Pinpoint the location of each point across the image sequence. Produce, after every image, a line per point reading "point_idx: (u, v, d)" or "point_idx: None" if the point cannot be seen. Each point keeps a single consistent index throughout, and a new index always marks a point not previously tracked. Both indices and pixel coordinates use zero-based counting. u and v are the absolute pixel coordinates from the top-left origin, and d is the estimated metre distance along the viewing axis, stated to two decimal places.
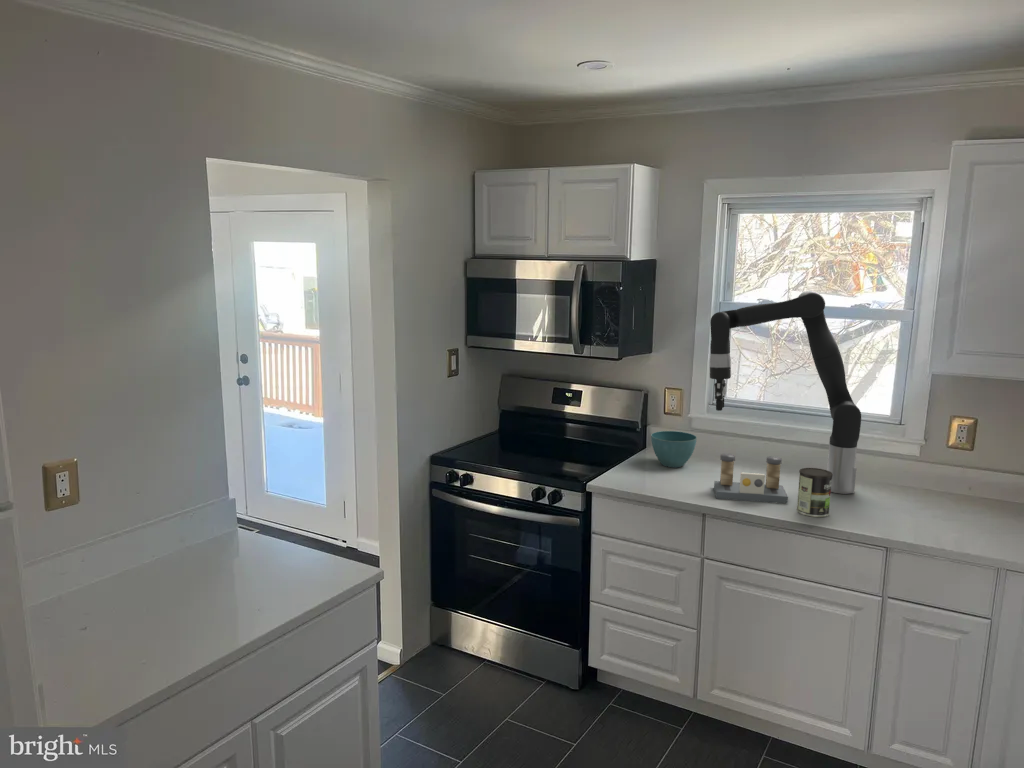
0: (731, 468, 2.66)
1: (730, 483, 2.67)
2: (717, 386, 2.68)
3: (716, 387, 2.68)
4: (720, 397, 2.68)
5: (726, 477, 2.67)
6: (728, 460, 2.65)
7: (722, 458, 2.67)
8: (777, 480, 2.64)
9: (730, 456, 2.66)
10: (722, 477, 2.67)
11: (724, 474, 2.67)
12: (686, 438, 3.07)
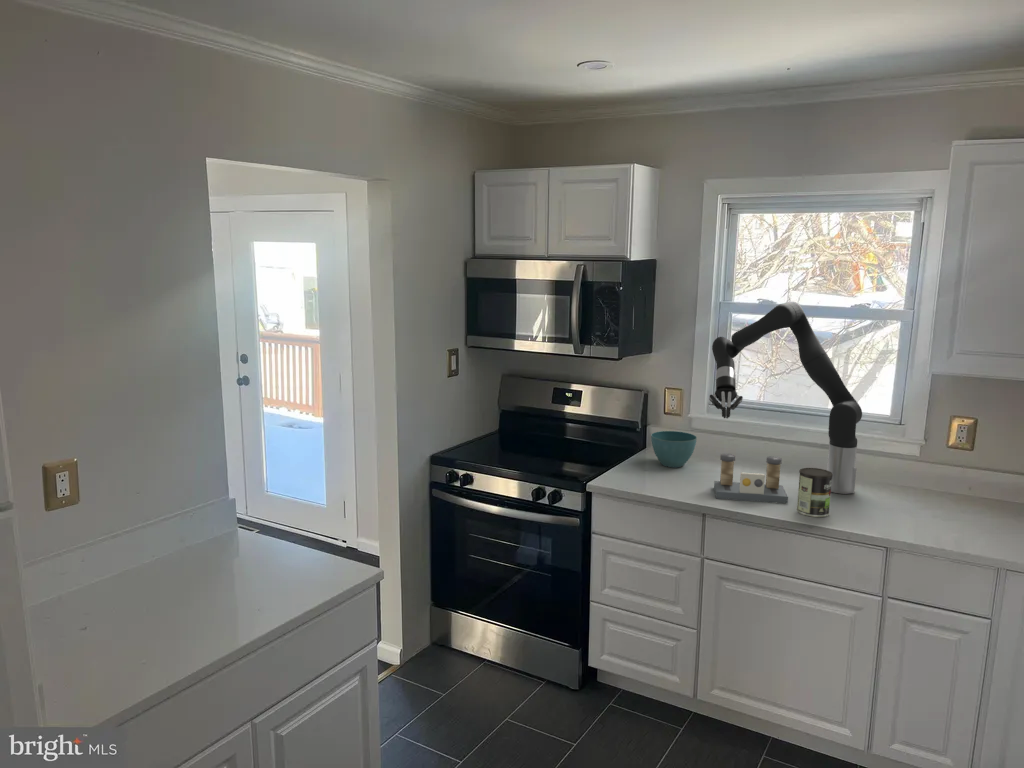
0: (731, 468, 2.66)
1: (730, 483, 2.67)
2: (710, 400, 2.88)
3: (711, 401, 2.88)
4: (717, 404, 2.85)
5: (726, 477, 2.67)
6: (728, 460, 2.65)
7: (722, 458, 2.67)
8: (777, 480, 2.64)
9: (730, 456, 2.66)
10: (722, 477, 2.67)
11: (724, 474, 2.67)
12: (686, 438, 3.07)
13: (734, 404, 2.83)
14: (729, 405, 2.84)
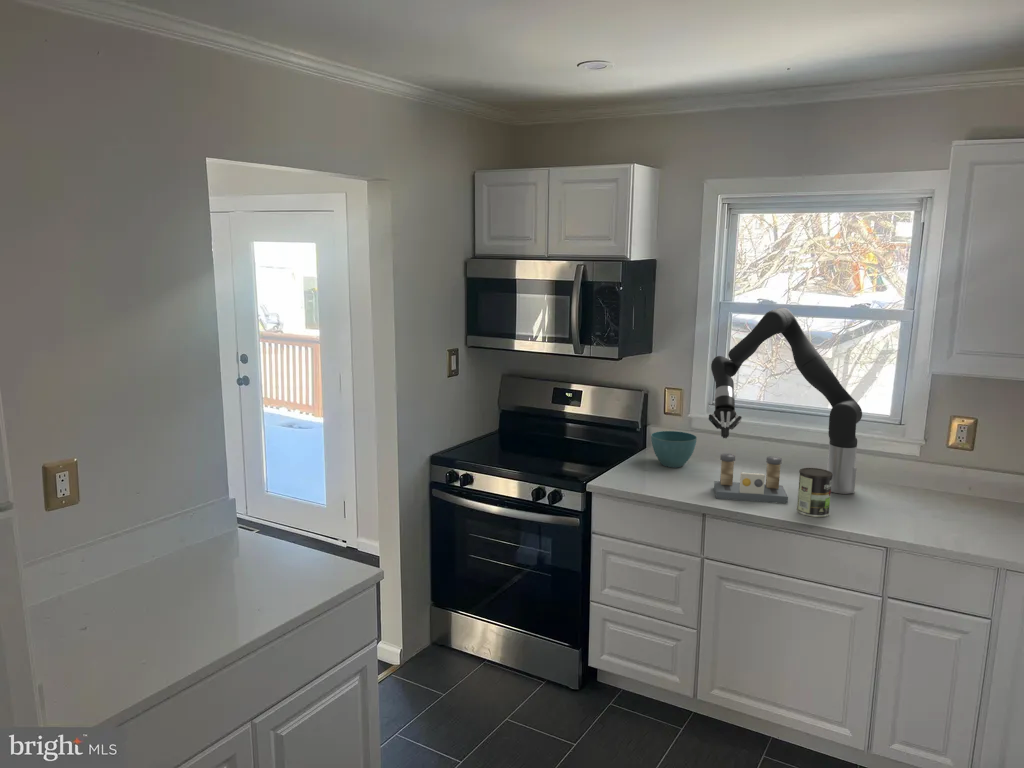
0: (731, 468, 2.66)
1: (730, 483, 2.67)
2: (710, 419, 2.88)
3: (710, 420, 2.89)
4: (716, 424, 2.86)
5: (726, 477, 2.67)
6: (728, 460, 2.65)
7: (722, 458, 2.67)
8: (777, 480, 2.64)
9: (730, 456, 2.66)
10: (722, 477, 2.67)
11: (724, 474, 2.67)
12: (686, 438, 3.07)
13: (733, 424, 2.84)
14: (728, 425, 2.84)
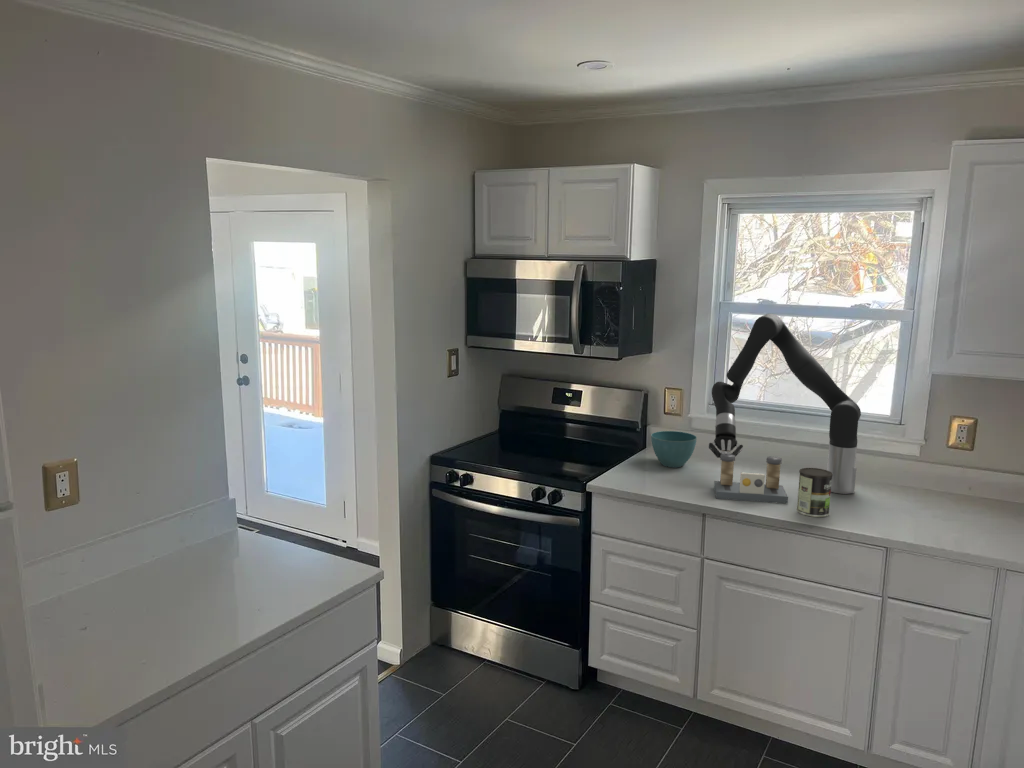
0: (731, 468, 2.66)
1: (730, 483, 2.67)
2: (710, 448, 2.79)
3: (710, 449, 2.79)
4: None
5: (726, 477, 2.67)
6: (728, 460, 2.65)
7: (722, 458, 2.67)
8: (777, 480, 2.64)
9: (730, 456, 2.66)
10: (722, 477, 2.67)
11: (724, 474, 2.67)
12: (686, 438, 3.07)
13: (734, 453, 2.75)
14: None
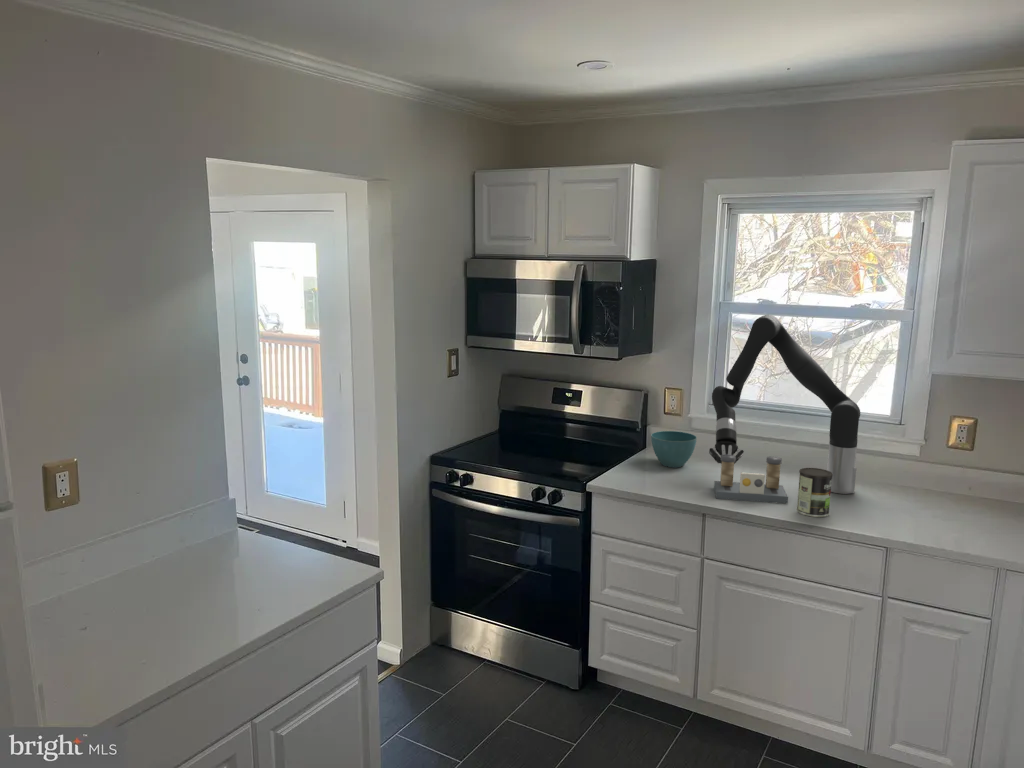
0: (731, 469, 2.65)
1: (730, 484, 2.66)
2: (710, 453, 2.76)
3: (711, 454, 2.76)
4: None
5: (726, 478, 2.66)
6: (728, 461, 2.64)
7: (722, 459, 2.66)
8: (777, 480, 2.64)
9: (731, 457, 2.65)
10: (722, 478, 2.67)
11: (724, 475, 2.66)
12: (686, 438, 3.07)
13: None
14: None
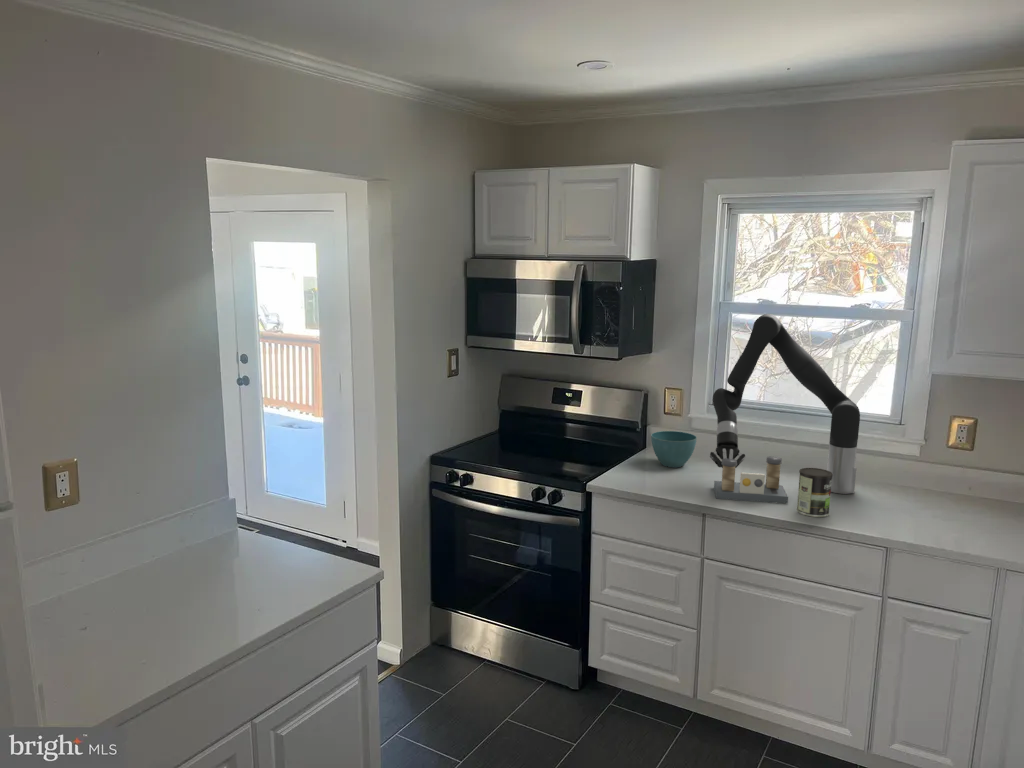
0: (733, 473, 2.60)
1: (732, 489, 2.61)
2: (711, 457, 2.71)
3: (712, 458, 2.71)
4: None
5: (728, 483, 2.61)
6: (729, 465, 2.59)
7: (723, 463, 2.60)
8: (777, 480, 2.64)
9: (732, 461, 2.59)
10: (723, 482, 2.61)
11: (725, 479, 2.61)
12: (686, 438, 3.07)
13: None
14: None
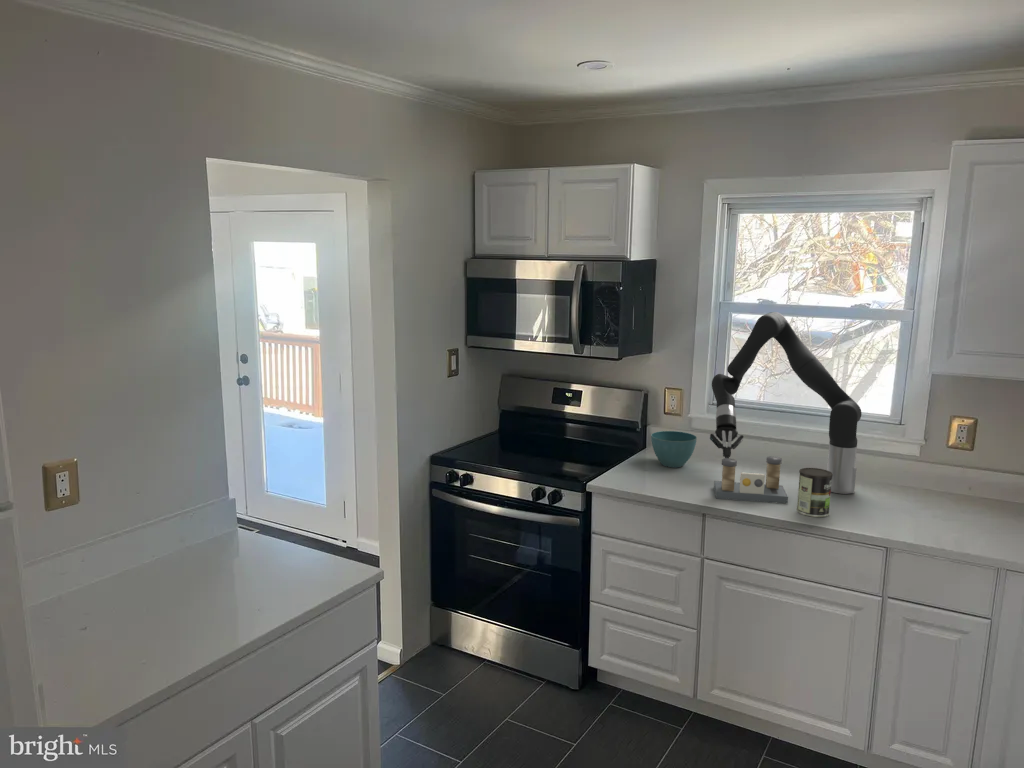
0: (733, 473, 2.60)
1: (732, 489, 2.61)
2: (711, 439, 2.84)
3: (711, 440, 2.84)
4: (718, 444, 2.81)
5: (728, 483, 2.61)
6: (729, 465, 2.59)
7: (723, 463, 2.60)
8: (777, 480, 2.64)
9: (732, 461, 2.59)
10: (723, 482, 2.61)
11: (725, 479, 2.61)
12: (686, 438, 3.07)
13: (735, 444, 2.79)
14: (729, 445, 2.79)
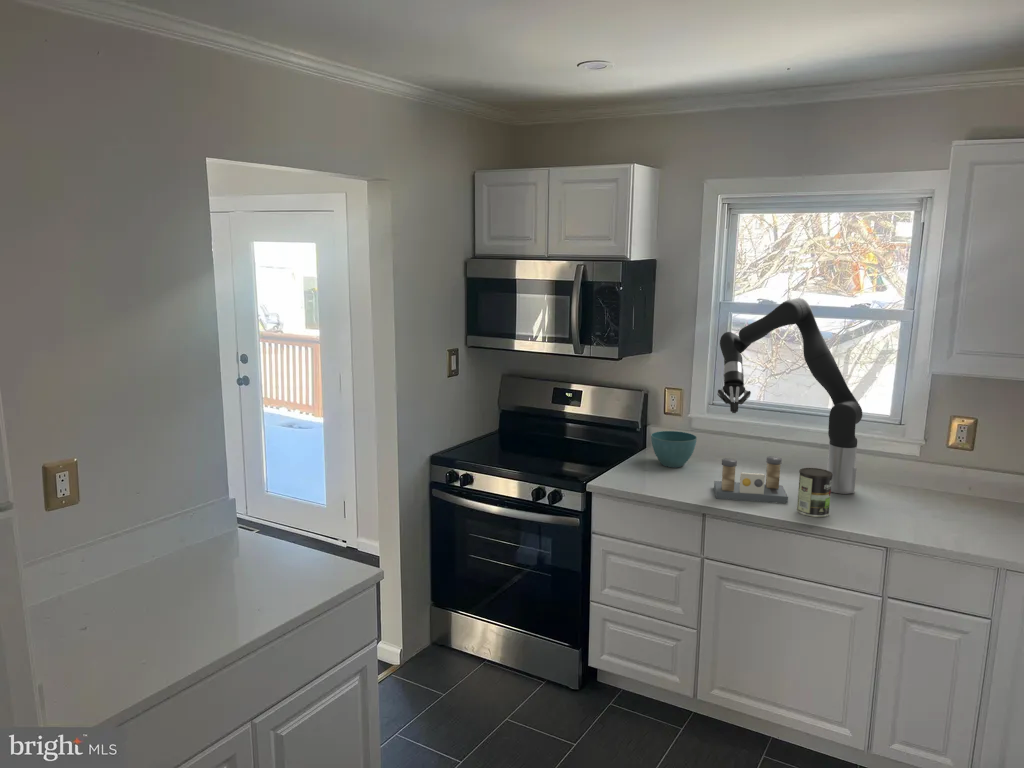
0: (733, 473, 2.60)
1: (732, 489, 2.61)
2: (719, 395, 2.88)
3: (719, 396, 2.88)
4: (725, 399, 2.85)
5: (728, 483, 2.61)
6: (729, 465, 2.59)
7: (723, 463, 2.60)
8: (777, 480, 2.64)
9: (732, 461, 2.59)
10: (723, 482, 2.61)
11: (725, 479, 2.61)
12: (686, 438, 3.07)
13: (742, 399, 2.84)
14: (737, 400, 2.84)
